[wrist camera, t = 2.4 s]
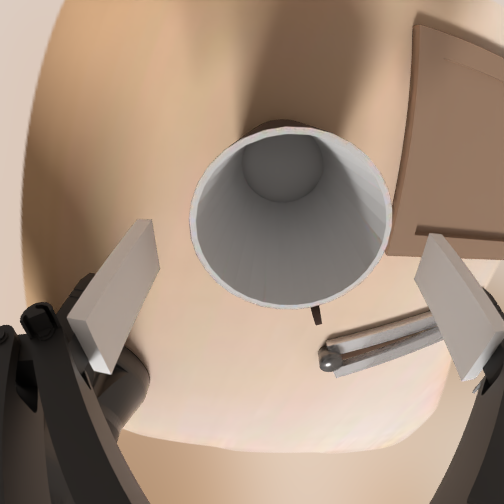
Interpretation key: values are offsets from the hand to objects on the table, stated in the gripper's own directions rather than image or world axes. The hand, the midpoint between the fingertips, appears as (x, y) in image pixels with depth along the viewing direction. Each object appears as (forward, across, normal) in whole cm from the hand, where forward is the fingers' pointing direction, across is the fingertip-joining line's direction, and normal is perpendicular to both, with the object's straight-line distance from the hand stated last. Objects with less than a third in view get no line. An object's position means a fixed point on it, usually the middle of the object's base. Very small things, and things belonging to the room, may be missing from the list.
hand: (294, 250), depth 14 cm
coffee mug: (+10, -1, 0) cm, 10 cm away
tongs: (+10, +14, -15) cm, 23 cm away
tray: (+10, +17, +4) cm, 20 cm away
